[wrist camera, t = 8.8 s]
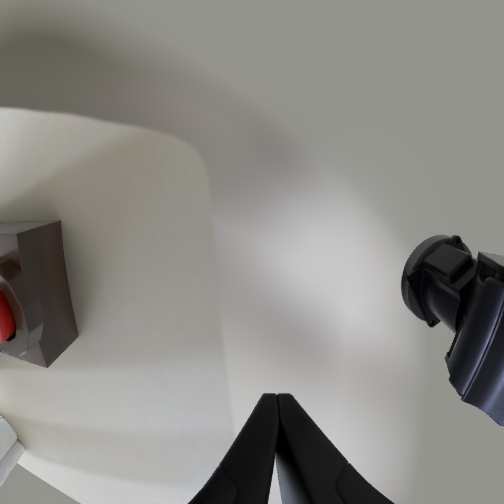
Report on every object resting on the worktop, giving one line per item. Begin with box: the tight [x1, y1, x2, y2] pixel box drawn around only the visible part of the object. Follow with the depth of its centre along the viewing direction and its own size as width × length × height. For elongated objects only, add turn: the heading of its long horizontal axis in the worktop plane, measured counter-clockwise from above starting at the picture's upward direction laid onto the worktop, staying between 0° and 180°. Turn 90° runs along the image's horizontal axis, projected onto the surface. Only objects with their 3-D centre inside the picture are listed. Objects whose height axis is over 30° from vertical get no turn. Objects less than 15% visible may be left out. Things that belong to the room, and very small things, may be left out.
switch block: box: [0, 220, 78, 368], centre depth 17 cm, size 13×10×7 cm
